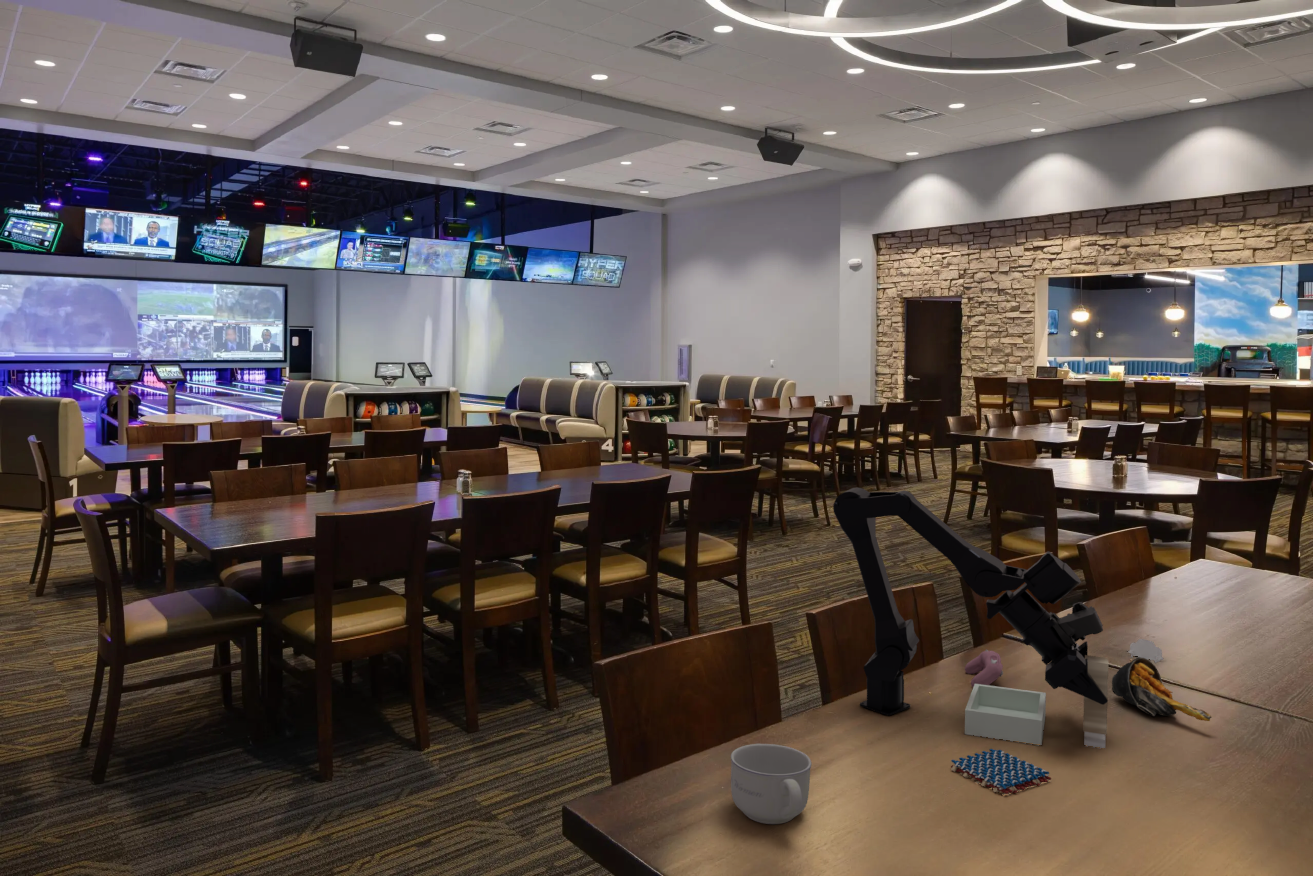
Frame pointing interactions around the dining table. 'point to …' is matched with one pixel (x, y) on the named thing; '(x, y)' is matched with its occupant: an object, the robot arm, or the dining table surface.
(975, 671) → the video game controller
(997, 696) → the box
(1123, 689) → the fried shrimp in bowl
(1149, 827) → the dining table surface
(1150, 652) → the car cutout
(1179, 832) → the dining table surface
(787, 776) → the teacup
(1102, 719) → the plate
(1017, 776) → the woven mat
